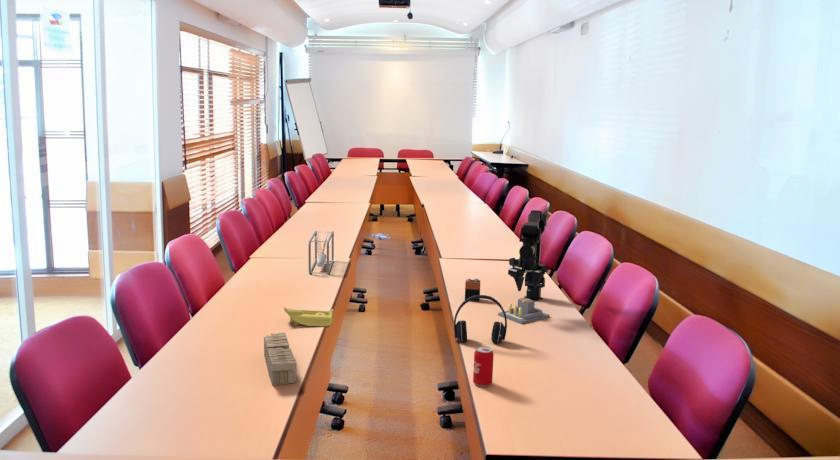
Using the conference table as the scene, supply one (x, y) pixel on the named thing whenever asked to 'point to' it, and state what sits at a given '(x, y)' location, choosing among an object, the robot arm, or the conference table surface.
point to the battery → (472, 288)
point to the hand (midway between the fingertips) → (526, 289)
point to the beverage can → (483, 366)
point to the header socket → (521, 318)
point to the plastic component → (311, 317)
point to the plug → (526, 306)
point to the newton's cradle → (322, 255)
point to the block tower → (279, 359)
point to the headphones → (498, 327)
